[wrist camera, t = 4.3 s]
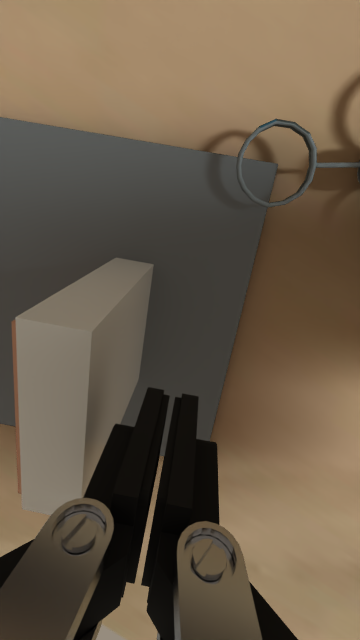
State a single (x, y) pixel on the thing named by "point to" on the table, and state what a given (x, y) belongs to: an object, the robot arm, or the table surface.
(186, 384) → the mat
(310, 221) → the table surface
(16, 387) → the tile
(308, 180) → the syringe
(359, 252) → the table surface
